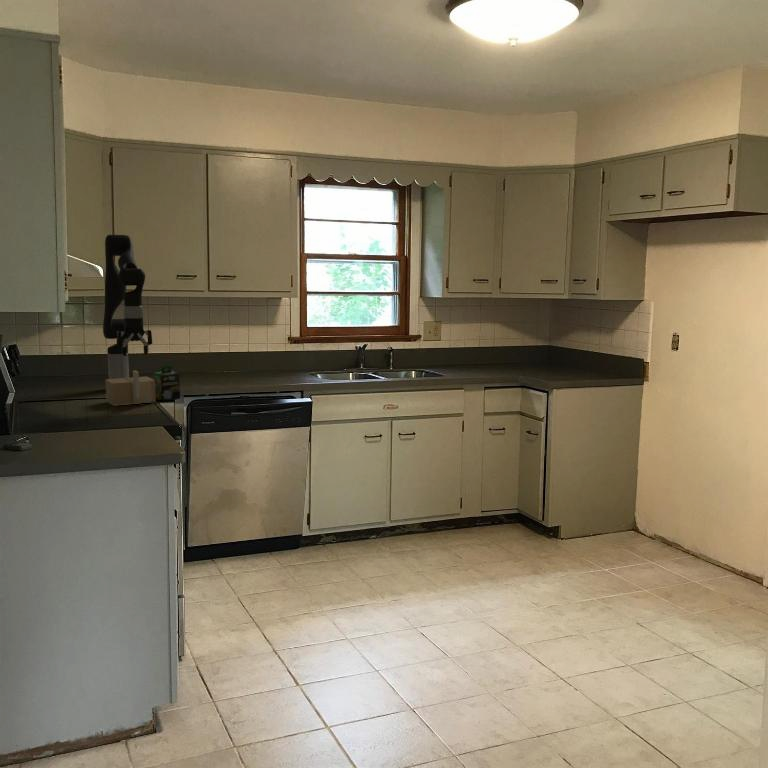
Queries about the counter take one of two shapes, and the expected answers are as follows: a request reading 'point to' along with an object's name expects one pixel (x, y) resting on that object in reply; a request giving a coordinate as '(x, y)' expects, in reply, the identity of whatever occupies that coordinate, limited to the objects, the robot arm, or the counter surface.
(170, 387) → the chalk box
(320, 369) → the counter surface
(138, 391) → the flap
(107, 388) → the carton
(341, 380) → the counter surface
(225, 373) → the counter surface
